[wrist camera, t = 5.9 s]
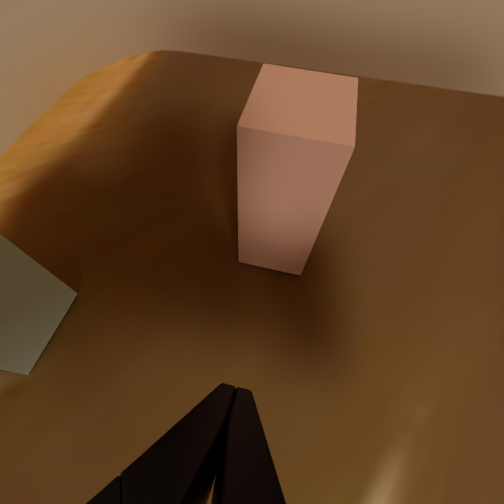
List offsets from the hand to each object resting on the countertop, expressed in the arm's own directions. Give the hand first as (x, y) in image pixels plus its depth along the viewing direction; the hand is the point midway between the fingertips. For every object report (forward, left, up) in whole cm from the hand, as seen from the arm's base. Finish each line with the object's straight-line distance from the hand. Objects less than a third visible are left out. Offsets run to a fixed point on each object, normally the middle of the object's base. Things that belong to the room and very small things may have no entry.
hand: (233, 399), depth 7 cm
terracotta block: (+9, -5, -7) cm, 12 cm away
